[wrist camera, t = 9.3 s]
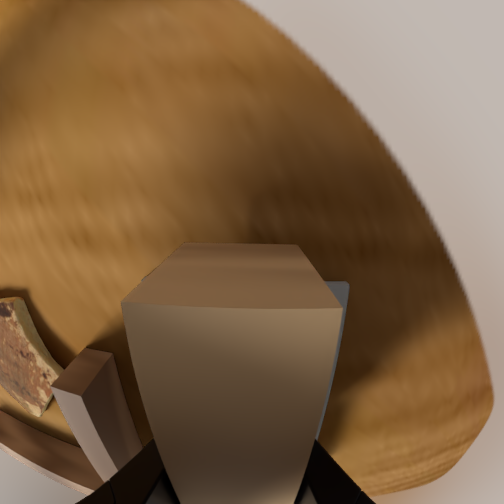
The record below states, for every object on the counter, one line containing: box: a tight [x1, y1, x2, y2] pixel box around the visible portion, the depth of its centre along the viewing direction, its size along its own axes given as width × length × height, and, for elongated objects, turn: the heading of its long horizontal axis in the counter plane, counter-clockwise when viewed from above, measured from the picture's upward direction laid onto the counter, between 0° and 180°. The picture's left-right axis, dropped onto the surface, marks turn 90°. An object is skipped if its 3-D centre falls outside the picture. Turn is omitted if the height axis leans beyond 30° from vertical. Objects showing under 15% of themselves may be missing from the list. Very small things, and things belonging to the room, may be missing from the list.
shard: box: [0, 297, 64, 417], centre depth 10 cm, size 11×8×2 cm
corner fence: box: [0, 348, 143, 495], centre depth 10 cm, size 14×10×3 cm
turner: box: [121, 242, 343, 504], centre depth 7 cm, size 13×6×4 cm, turn 179°
